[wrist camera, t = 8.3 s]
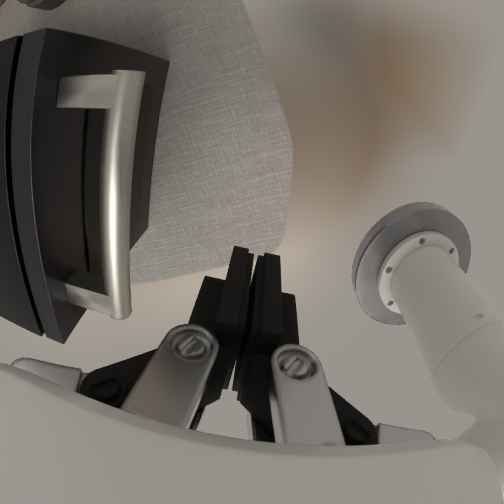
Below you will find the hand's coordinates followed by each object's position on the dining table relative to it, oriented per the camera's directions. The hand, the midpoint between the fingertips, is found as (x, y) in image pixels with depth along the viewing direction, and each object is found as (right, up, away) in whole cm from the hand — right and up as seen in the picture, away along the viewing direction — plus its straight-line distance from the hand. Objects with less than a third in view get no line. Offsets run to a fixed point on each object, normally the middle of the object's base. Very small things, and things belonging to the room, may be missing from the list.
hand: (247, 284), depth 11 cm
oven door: (-8, +11, +16) cm, 21 cm away
